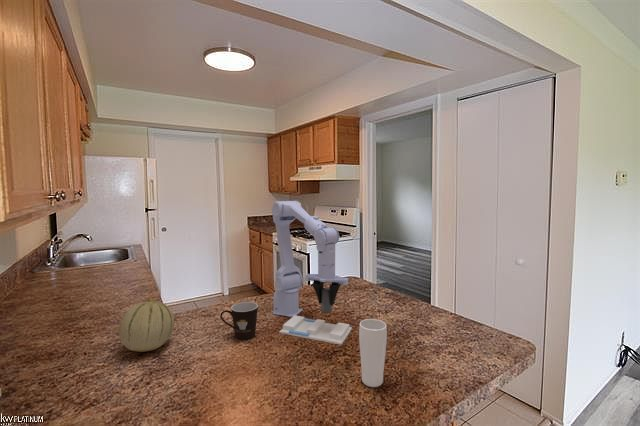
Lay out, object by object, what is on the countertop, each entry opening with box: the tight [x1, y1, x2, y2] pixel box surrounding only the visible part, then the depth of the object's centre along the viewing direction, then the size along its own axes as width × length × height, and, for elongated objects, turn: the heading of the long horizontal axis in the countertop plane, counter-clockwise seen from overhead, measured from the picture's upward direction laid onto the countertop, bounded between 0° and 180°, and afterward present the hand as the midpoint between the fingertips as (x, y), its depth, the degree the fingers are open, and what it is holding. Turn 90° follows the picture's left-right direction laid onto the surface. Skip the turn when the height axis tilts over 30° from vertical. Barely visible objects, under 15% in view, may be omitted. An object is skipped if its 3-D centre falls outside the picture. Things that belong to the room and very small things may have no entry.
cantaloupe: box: [118, 297, 175, 353], centre depth 95 cm, size 15×15×15 cm
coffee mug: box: [219, 301, 259, 342], centre depth 104 cm, size 12×9×10 cm
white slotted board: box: [279, 315, 353, 345], centre depth 107 cm, size 22×12×2 cm, turn 68°
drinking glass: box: [358, 318, 388, 388], centre depth 78 cm, size 7×7×15 cm
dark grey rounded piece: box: [320, 287, 336, 314], centre depth 108 cm, size 4×10×8 cm, turn 158°
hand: (326, 303), depth 105 cm, fingers closed on dark grey rounded piece, 4 cm apart
